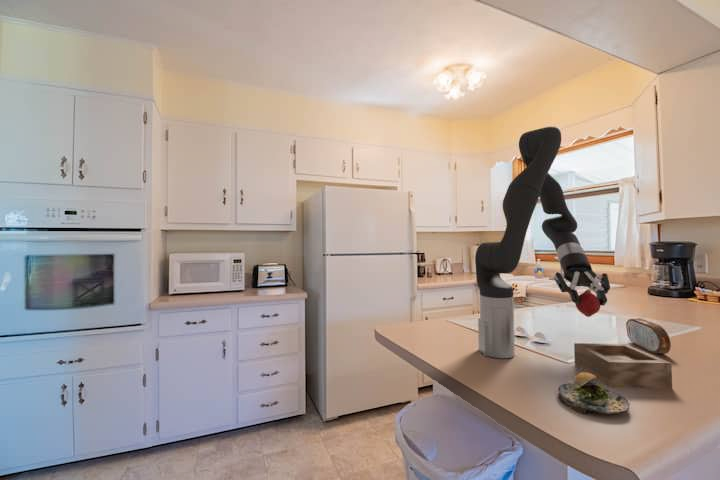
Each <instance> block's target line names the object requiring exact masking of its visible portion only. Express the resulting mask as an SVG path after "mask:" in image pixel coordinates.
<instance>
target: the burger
mask: <svg viewBox="0 0 720 480" xmlns="http://www.w3.org/2000/svg"><path fill="white" fill-rule="evenodd" d="M578 366H579V365H578ZM578 366H577V367H578ZM578 369H579V370H580V372H579V373H578V374H576V375H575V377H574V379H573V383H570V382H569V383H563V384H561V385H559V387H558V389H557V390H558V394H557V398H558V400H559V401H560V403H562V404H563V405H565V407H568V408H569V409H571V410H573V411H577V413H579V414H583V415H584V414H585V413H586V411H590V412H595V413H600V414H607V415H610V414H611V415H613V414H619V413H622V412H623V413H624V412H625V411H628V410H629V409H630V403H629V401H628V399H626V398H625V397H623V396H622V395H621V394H617V393H616V392H614V391H610V390H609V389H607V388H603V387H602V386H601V385H599V384H598V382H596V381H595V380H597V377H596V376H595V375H593V374H591V373H587V372H586V371H581V370H582V369H581V368H580V367H578Z"/></svg>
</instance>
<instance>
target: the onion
mask: <svg viewBox="0 0 720 480" xmlns="http://www.w3.org/2000/svg"><path fill="white" fill-rule="evenodd" d="M578 295H579V294H578ZM579 298H580V303H579V304H575V308H576V309H577V311H579V312H580V313H581V314H582V315H584V316H585V317H587V318H589V317H592V316H593V315H595V314H597V313H598V312H599V311H600V309H601V305H600V301H599V299H598V298H597V296H596V295H595V294H593V293H592V290H590V289H589V288H588V289H585V291H584V292H582V293H581V294H580V295H579Z"/></svg>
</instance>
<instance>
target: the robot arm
mask: <svg viewBox="0 0 720 480" xmlns="http://www.w3.org/2000/svg"><path fill="white" fill-rule="evenodd" d="M561 145H562V132H561V130H560V129H559V127H557V126H553V125H552V126H545V127H541V128H538V129H533V130H529V131H526V132H524V133H522V135H521V136H520V137H519V140H518V149H519V152H520V157H521V159H522V160H523V163H524V164H525V168H524V169H523V170H522V171H521V172H519V174H518V175H516V177H515V178H513V179H512V180H511V182H510V184H509V185H508V187H507V190H506V192H505V195H504V197H503V200H502V211H503V215H504V218H505V221H506V227H505V230H504V234H503V237H502V238H501V240H500V241H486V242H482V243H481V244H479V245H478V247H477V249H476V252H475V257H474V258H475V259H474V263H475V274H476V278H475V279H476V284H477V286H478V290H479V318H477V319H478V320H477V321H478V323H477V326H478V329H477V331H478V332H477V333H478V350H479V351H480V352H481V353H482V354H483V356H484V357H492V358H496V359H511V358H513V357H515V356H516V355H515V352H516V351H515V350H516V348H515V313H514V310H515V309H514V306H515V305H514V288H513V286H512V285H510V284H509V283H507V282H505V281H504V279H502V277H501V275H500V274H504V275H505V274H511V273H512V272H514V271H515V270H516V269H517V267H518V265H519V263H520V259H521V256H522V252H523V248H524V245H525V244H524V243H525V240H526V239H525V238H526V235H527V232H528V229H529V225H530V222H531V220H532V217H533V213H534V211H535V209H536V206H537V203H538V201H539V199H540V204H541V207H542V211H543V212H544V213H545V215H546V214H547V215H558V216H554V217H549V218H546V219H544V220H543V222H541V223H542V224H541V229H542V232H543V233H544V234H545V236H546V237H547V238H548V239H549V240H550V241H551V242H552V243H553V245H554V246H553V247H554V248H555V251H556V253H557V259H558V262H559V265H560V267H561V270H562V273H560V272H558V271H557V272H556V273H555V275H554V277H553V279H554V281H555V283H556V285H557V286H558V288H559V290H560V291H561V292H562V293H567V294H569V296H570V299H571V302H573V303H574V304H575V305H576V304H579V303H580V298H579V293H578V290H577V289H576V288H577V287H586V288H588V289H589V290H591V291H592V292H594V293H595V294H596V295H595V296H596V297H597V298H598V299H599V301H600V306H605V305H606V303H607V302H608V297H607V294H608V293H609V291H610V289H611V285H610V281H609V276H608V274H607V273H605V272H603V273H602V274H597V273H596V272H594V271H593V269H592V265H591V262H590V260H589V258H588V256H587V253H586V252H585V250H584V249H583V247H582V246H581V243H580V241H579V239H578V237H577V235H576V234H575V232H576V231H577V229H578V221H577V220H576V218H575V217H574V216H573V214H572V213H571V211H570V210H569V208H568V205H567V203H566V198H565V195H564V191H563V189H562V186H561V184H560V183H559V182H558V180H557V179H555V178H554V177H553V176H552V175H551V174H550V173H549V171H550V169H551V167H552V165H553V163H554V162H555V159H556V157H557V156H558V154H559V153H558V152H559V151H560V148H561ZM565 280H566V281H568V282H569V283H570V284H569V286H568V284H567V282H566V281H565Z"/></svg>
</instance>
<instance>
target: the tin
mask: <svg viewBox="0 0 720 480" xmlns="http://www.w3.org/2000/svg"><path fill="white" fill-rule="evenodd" d="M625 325H626V326H625V327H626V335H627V338H629V340H630V341H631V342H632V344H634V345H635V344H636V345H635V346H637V347H639V348H642V349H644V350H646V351H648V352H649V353H652V354H656V355H657V354H660V355H661V354H662V355H666V354H668V353H669V352H670V350H671V346H672V343H671V339H670V336H669V334H668V332H667V331H666V329H665V328H664V327H663V326H661V325H660V324H657V323H655V322H652V321H648V320H647V319H643V318H641V317H639V318H638V317H637V318H630V319H627V321H626V323H625Z"/></svg>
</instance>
